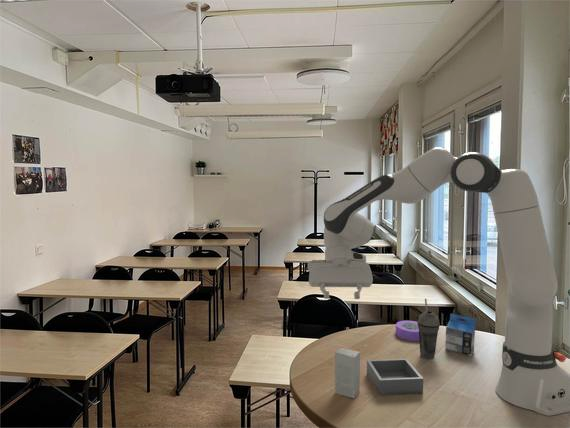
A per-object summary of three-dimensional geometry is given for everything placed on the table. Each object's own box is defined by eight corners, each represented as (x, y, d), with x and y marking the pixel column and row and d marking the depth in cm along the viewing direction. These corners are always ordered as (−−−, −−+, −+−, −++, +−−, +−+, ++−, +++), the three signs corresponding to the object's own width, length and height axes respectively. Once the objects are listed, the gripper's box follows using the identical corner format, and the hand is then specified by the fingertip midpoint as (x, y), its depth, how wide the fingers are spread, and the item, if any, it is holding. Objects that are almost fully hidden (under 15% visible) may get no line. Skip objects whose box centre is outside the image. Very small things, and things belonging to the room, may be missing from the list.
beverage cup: (440, 361, 134) (442, 303, 133) (417, 359, 136) (419, 301, 134) (436, 352, 142) (438, 296, 140) (415, 350, 143) (416, 295, 141)
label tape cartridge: (444, 349, 144) (445, 315, 143) (448, 346, 147) (449, 313, 146) (470, 356, 138) (472, 321, 137) (474, 353, 141) (475, 318, 140)
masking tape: (433, 337, 156) (434, 327, 155) (412, 343, 150) (412, 333, 149) (410, 327, 166) (410, 318, 165) (389, 333, 160) (389, 323, 160)
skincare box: (360, 392, 115) (360, 351, 114) (354, 399, 112) (354, 357, 111) (340, 386, 119) (341, 347, 117) (334, 393, 115) (334, 352, 114)
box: (406, 372, 127) (406, 358, 127) (423, 393, 115) (423, 378, 114) (366, 374, 126) (367, 360, 126) (379, 395, 114) (379, 380, 113)
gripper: (307, 254, 132) (308, 292, 123) (370, 255, 132) (376, 293, 123) (306, 265, 137) (307, 302, 128) (367, 265, 137) (372, 303, 128)
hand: (342, 298), depth 125 cm, fingers open, 8 cm apart
